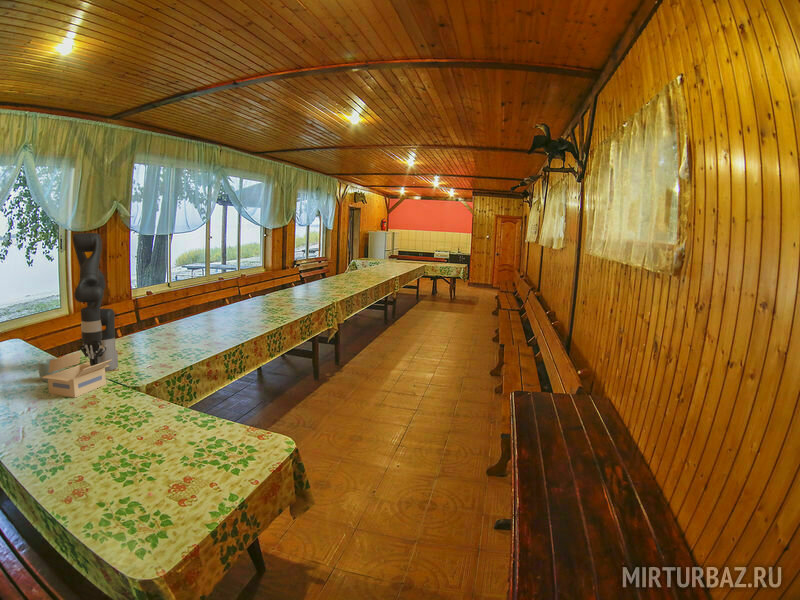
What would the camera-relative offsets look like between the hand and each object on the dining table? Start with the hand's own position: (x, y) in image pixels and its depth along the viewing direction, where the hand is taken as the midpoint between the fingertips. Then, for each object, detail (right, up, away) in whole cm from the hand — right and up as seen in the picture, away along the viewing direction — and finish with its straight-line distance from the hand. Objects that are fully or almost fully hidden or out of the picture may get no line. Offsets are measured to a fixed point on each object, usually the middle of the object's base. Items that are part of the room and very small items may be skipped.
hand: (94, 365), depth 192 cm
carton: (-10, -12, +4) cm, 16 cm away
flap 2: (0, -1, 0) cm, 1 cm away
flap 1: (-16, +1, +3) cm, 16 cm away
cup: (-31, -9, +13) cm, 35 cm away
